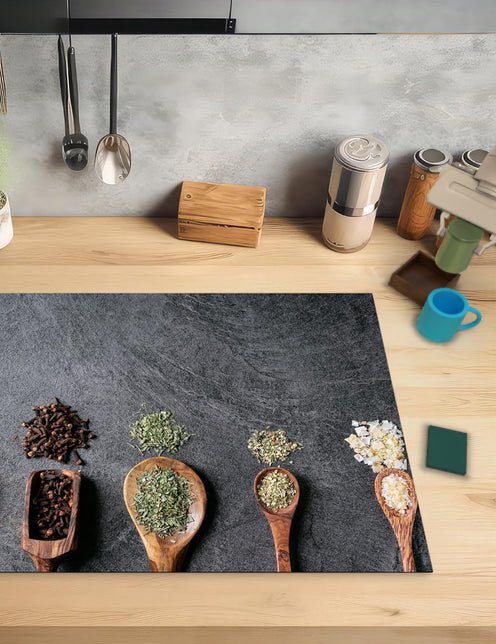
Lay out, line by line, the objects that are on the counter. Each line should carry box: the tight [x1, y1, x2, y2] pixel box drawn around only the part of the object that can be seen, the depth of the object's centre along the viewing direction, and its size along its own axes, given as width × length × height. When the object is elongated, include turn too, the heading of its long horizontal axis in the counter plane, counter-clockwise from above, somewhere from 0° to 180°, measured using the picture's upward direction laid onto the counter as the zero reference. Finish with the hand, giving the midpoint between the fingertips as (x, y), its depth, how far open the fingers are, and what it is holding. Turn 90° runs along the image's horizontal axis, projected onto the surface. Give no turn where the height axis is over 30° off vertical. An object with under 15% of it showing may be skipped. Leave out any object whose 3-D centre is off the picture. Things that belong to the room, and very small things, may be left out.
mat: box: [425, 424, 468, 477], centre depth 139 cm, size 9×7×1 cm
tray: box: [387, 249, 462, 308], centre depth 163 cm, size 11×11×4 cm
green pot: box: [434, 217, 485, 274], centre depth 143 cm, size 6×6×9 cm
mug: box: [415, 288, 483, 343], centre depth 154 cm, size 12×8×8 cm
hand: (458, 245), depth 142 cm, fingers closed on green pot, 6 cm apart
